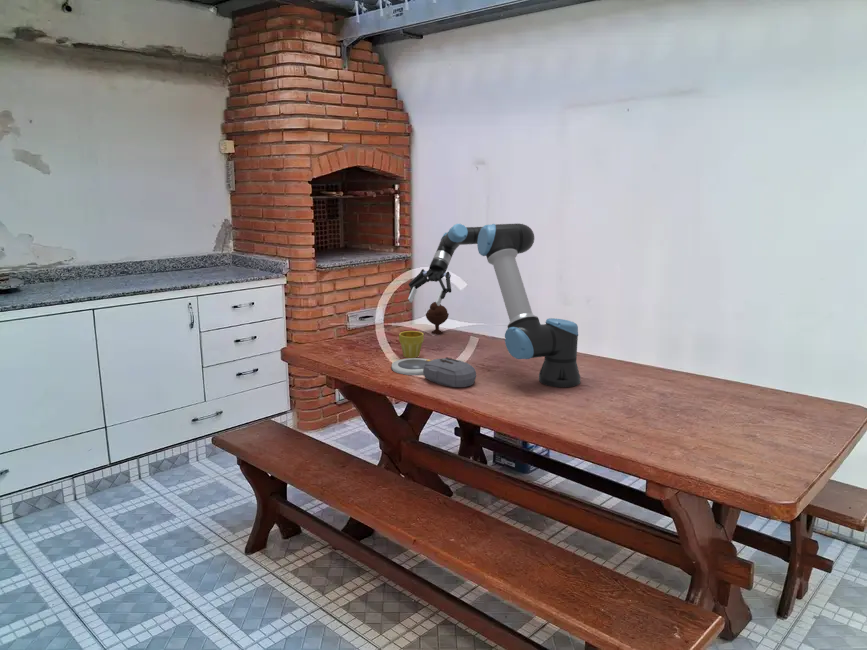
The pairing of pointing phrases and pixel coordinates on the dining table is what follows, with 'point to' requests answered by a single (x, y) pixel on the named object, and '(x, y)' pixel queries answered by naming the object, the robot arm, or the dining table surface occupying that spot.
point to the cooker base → (410, 366)
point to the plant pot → (411, 343)
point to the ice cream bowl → (437, 316)
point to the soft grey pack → (450, 372)
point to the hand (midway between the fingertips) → (423, 302)
